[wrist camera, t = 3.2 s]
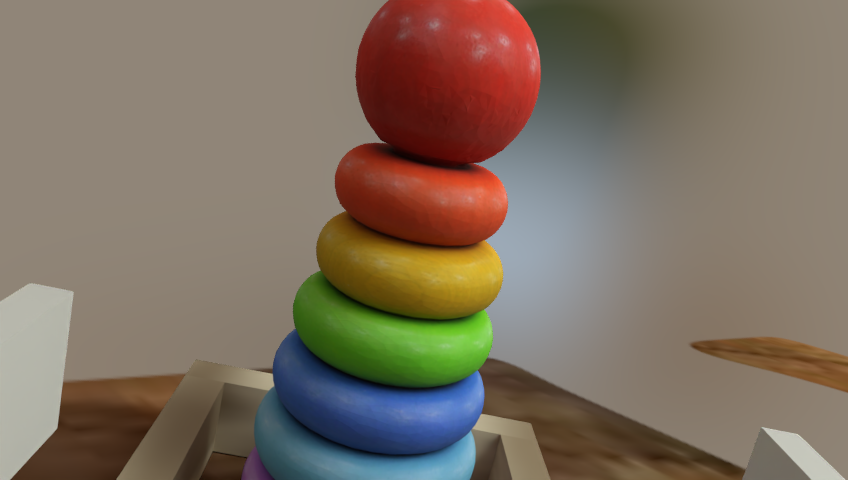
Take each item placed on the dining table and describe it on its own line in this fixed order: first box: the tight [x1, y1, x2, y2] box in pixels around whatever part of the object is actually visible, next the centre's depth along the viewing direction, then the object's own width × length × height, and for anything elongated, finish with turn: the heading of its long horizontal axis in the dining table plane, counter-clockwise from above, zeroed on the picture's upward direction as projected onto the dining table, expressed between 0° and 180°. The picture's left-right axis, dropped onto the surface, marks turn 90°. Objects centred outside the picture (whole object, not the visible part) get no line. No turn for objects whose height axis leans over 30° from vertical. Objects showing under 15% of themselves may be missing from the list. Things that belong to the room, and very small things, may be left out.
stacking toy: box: [241, 0, 541, 480], centre depth 23 cm, size 8×8×19 cm
